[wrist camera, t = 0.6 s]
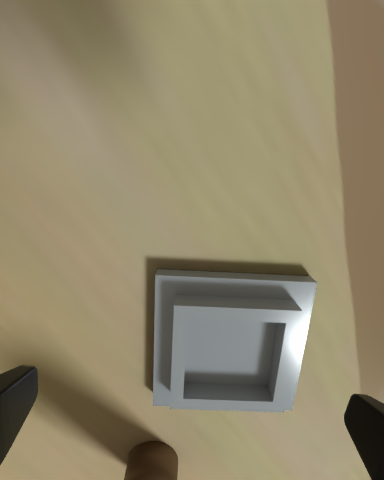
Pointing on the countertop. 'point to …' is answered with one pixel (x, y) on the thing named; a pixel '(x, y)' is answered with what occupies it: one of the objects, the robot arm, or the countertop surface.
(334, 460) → the countertop surface
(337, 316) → the countertop surface
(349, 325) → the countertop surface
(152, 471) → the pepper mill
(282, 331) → the seat dish
